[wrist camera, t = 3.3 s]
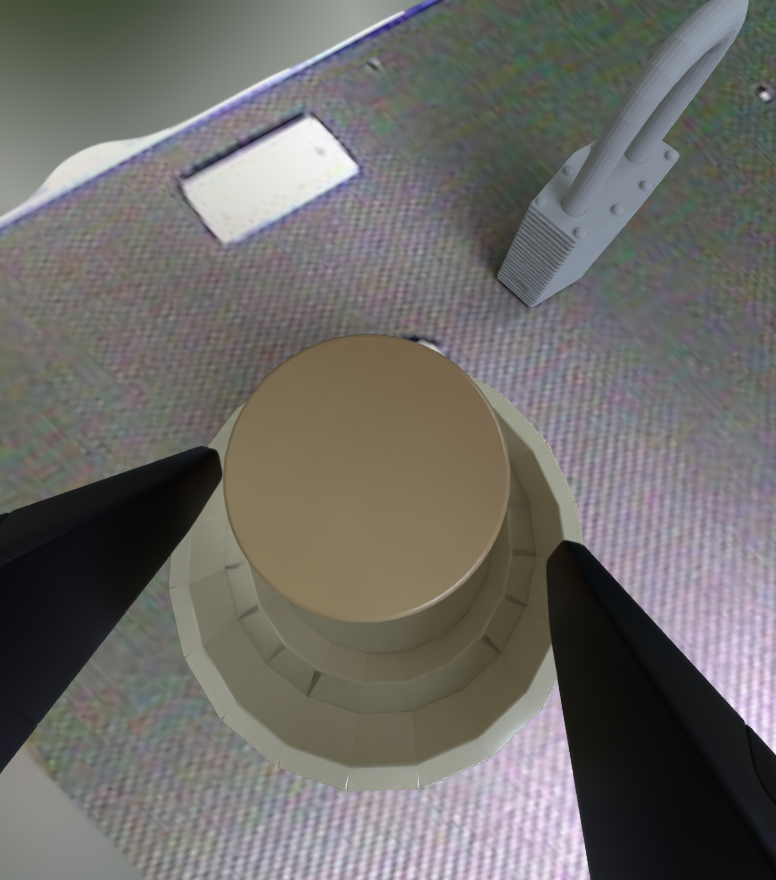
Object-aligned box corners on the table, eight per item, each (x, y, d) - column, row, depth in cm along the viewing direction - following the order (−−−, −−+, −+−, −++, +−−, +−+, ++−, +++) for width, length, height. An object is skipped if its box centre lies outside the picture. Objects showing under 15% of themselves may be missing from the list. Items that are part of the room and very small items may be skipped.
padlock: (568, 206, 20) (741, -88, 10) (617, 246, 19) (855, -25, 9) (487, 273, 19) (588, 26, 9) (536, 317, 18) (701, 105, 8)
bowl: (425, 753, 14) (443, 910, 9) (189, 570, 16) (83, 606, 11) (570, 489, 16) (657, 483, 11) (346, 352, 18) (325, 290, 13)
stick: (405, 567, 15) (469, 1009, 2) (320, 508, 16) (-51, 553, 3) (460, 478, 16) (763, 381, 3) (376, 425, 17) (301, 141, 3)
